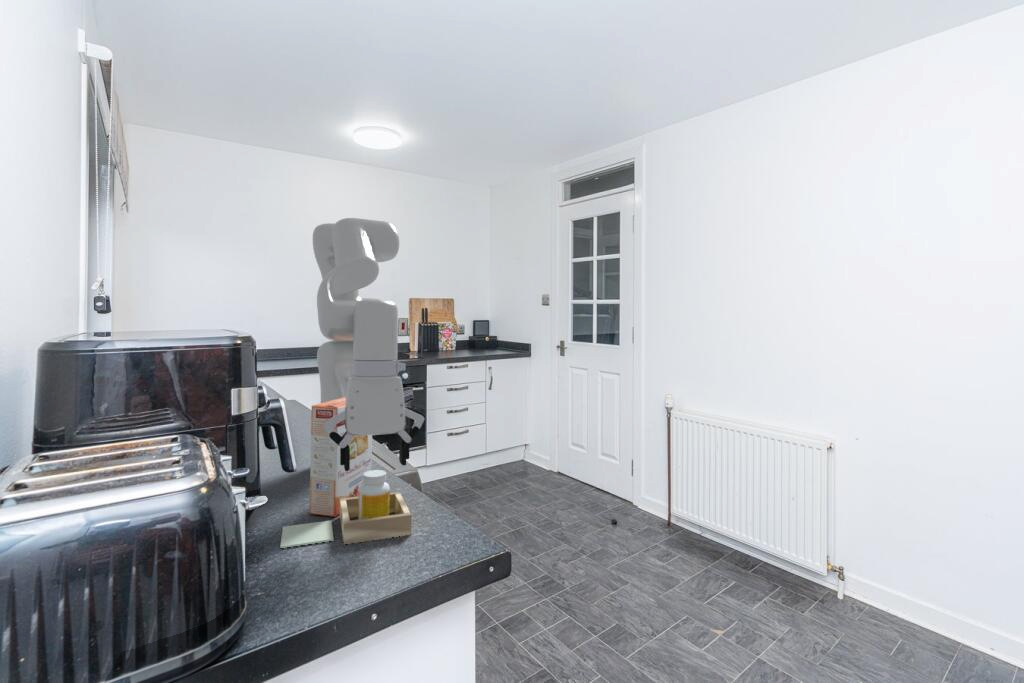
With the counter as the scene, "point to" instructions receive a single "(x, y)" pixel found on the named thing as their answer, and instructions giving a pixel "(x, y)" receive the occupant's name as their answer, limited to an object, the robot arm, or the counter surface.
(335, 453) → the cracker box
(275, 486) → the counter surface
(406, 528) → the birch box
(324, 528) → the green mat
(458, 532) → the counter surface
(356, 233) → the robot arm
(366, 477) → the supplement bottle
